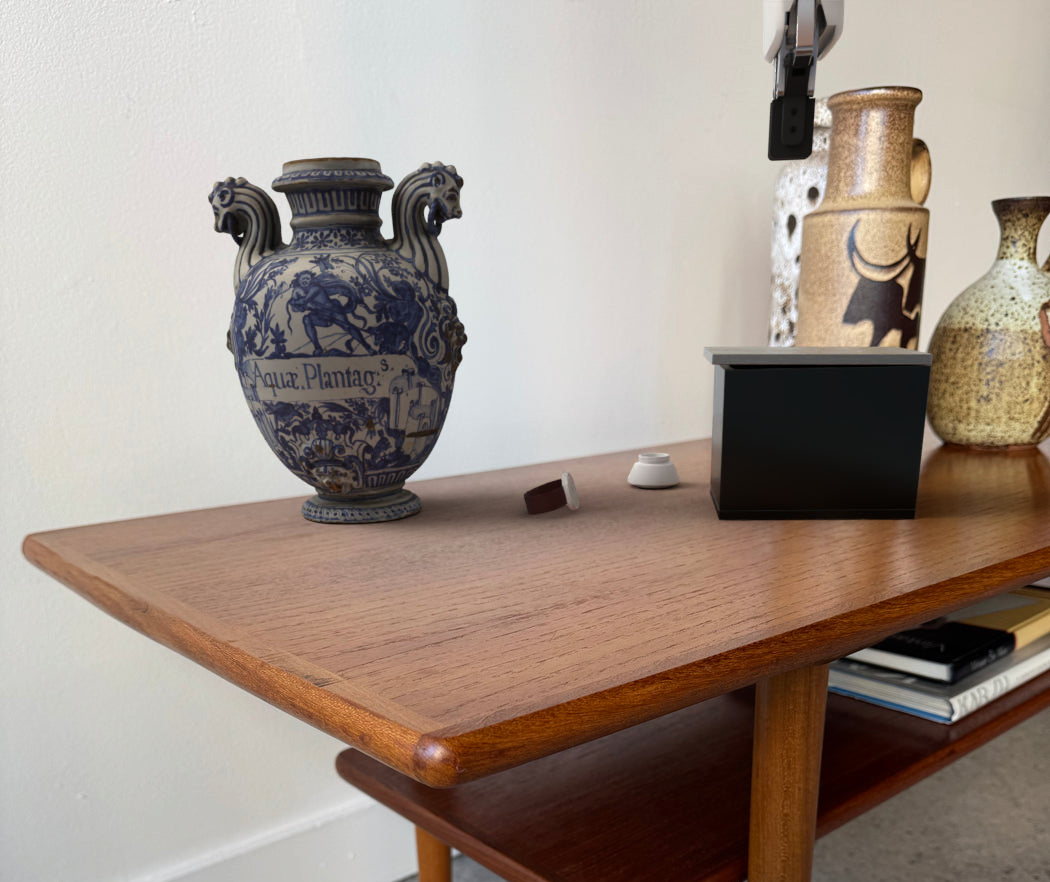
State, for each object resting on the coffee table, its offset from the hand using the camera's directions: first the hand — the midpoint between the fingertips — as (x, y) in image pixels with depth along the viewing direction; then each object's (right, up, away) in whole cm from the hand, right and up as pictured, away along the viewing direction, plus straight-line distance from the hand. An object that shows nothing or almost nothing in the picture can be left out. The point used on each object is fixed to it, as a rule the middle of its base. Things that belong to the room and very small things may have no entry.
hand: (789, 158), depth 81 cm
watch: (-18, -26, +10) cm, 33 cm away
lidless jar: (-8, -21, +21) cm, 31 cm away
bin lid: (+3, -14, +5) cm, 15 cm away
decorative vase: (-35, -26, +12) cm, 45 cm away
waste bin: (+4, -25, +9) cm, 27 cm away
